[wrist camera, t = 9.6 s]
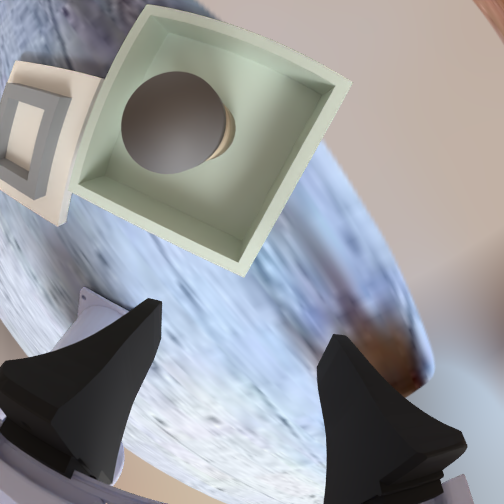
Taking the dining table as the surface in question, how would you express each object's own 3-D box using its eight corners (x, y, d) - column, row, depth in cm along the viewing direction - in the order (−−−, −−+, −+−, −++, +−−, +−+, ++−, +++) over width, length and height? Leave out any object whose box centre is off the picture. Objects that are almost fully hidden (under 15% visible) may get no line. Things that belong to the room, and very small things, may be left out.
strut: (246, 149, 16) (237, 152, 10) (183, 171, 17) (140, 189, 10) (225, 88, 15) (203, 55, 8) (163, 112, 15) (110, 99, 9)
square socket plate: (66, 222, 19) (46, 233, 17) (-6, 177, 17) (-24, 183, 15) (109, 80, 15) (89, 75, 12) (23, 61, 13) (4, 59, 11)
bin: (247, 250, 20) (244, 277, 16) (99, 179, 18) (67, 190, 14) (334, 93, 15) (353, 82, 11) (167, 25, 13) (146, 4, 10)
